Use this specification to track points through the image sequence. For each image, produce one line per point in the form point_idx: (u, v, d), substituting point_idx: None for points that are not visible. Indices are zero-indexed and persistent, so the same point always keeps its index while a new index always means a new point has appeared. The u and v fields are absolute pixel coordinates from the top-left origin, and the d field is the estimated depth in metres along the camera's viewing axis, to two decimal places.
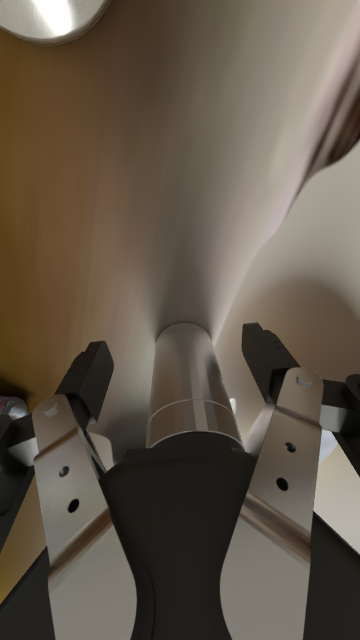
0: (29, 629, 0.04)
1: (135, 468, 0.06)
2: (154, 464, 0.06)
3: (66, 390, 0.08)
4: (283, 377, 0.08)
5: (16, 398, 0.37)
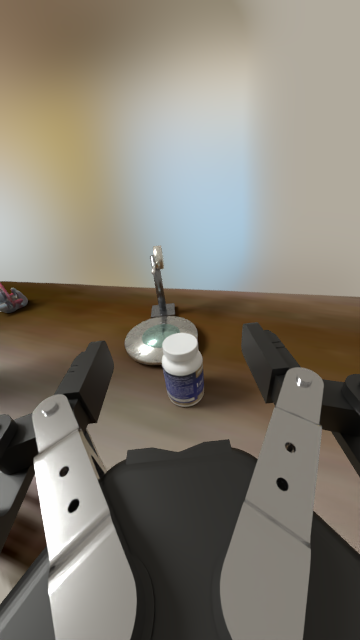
0: (29, 629, 0.04)
1: (135, 468, 0.06)
2: (154, 464, 0.06)
3: (66, 390, 0.08)
4: (283, 377, 0.08)
5: (12, 310, 0.64)
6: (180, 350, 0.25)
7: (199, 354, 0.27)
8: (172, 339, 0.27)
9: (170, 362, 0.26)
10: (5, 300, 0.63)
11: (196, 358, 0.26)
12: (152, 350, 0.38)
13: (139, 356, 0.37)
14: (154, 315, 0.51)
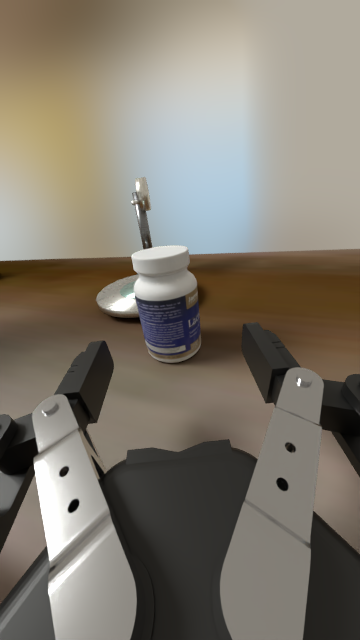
0: (29, 629, 0.04)
1: (135, 468, 0.06)
2: (154, 464, 0.06)
3: (66, 390, 0.08)
4: (283, 377, 0.08)
5: None
6: (158, 255, 0.15)
7: (192, 275, 0.17)
8: (148, 250, 0.17)
9: (145, 281, 0.16)
10: None
11: (186, 277, 0.16)
12: (131, 301, 0.28)
13: (112, 307, 0.27)
14: None
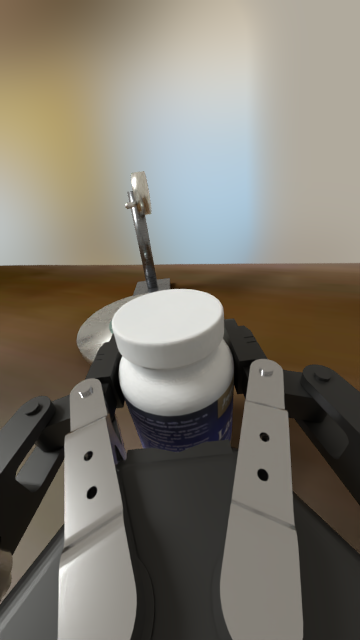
0: (29, 629, 0.04)
1: (135, 468, 0.06)
2: (154, 464, 0.06)
3: (97, 375, 0.09)
4: (250, 368, 0.09)
5: None
6: (165, 330, 0.07)
7: (225, 347, 0.09)
8: (145, 303, 0.09)
9: (138, 370, 0.08)
10: None
11: (218, 359, 0.09)
12: None
13: None
14: (138, 293, 0.33)
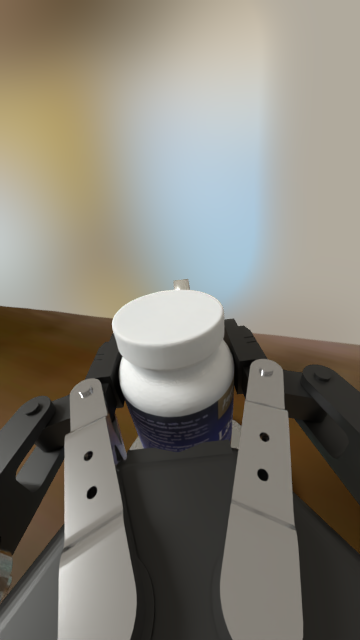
0: (29, 629, 0.04)
1: (135, 468, 0.06)
2: (154, 464, 0.06)
3: (97, 375, 0.09)
4: (250, 368, 0.09)
5: None
6: (165, 331, 0.07)
7: (225, 347, 0.10)
8: (146, 304, 0.09)
9: (138, 371, 0.08)
10: None
11: (218, 360, 0.09)
12: None
13: None
14: None
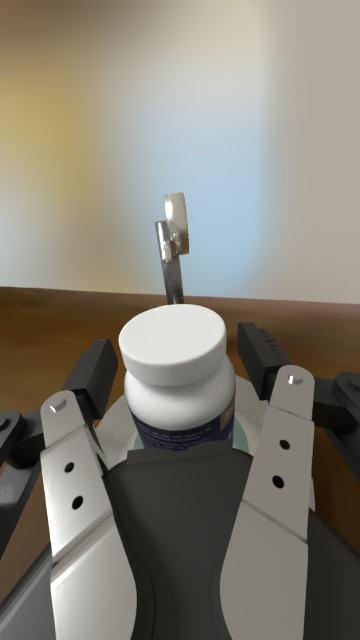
0: (29, 629, 0.04)
1: (135, 468, 0.06)
2: (154, 464, 0.06)
3: (73, 386, 0.08)
4: (276, 375, 0.08)
5: None
6: (170, 350, 0.07)
7: (227, 361, 0.10)
8: (150, 319, 0.10)
9: (144, 385, 0.09)
10: None
11: (221, 374, 0.09)
12: None
13: None
14: None
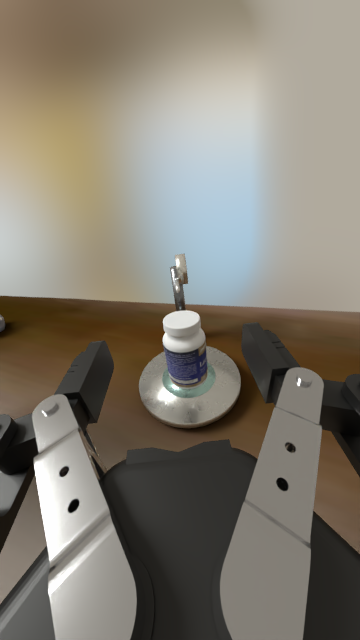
0: (29, 629, 0.04)
1: (135, 468, 0.06)
2: (154, 464, 0.06)
3: (66, 390, 0.08)
4: (283, 377, 0.08)
5: None
6: (181, 325, 0.24)
7: (202, 332, 0.26)
8: (173, 316, 0.26)
9: (172, 338, 0.25)
10: None
11: (198, 335, 0.25)
12: (179, 402, 0.26)
13: (162, 413, 0.25)
14: None
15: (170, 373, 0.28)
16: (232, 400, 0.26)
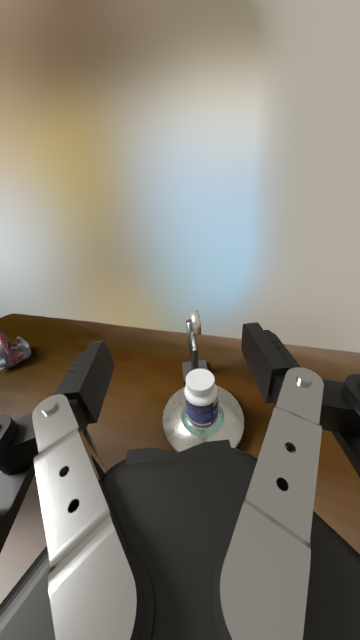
0: (29, 629, 0.04)
1: (135, 468, 0.06)
2: (154, 464, 0.06)
3: (66, 390, 0.08)
4: (283, 377, 0.08)
5: (13, 365, 0.59)
6: (201, 386, 0.31)
7: (215, 387, 0.33)
8: (193, 375, 0.33)
9: (192, 394, 0.32)
10: (6, 355, 0.58)
11: (213, 391, 0.32)
12: (197, 441, 0.34)
13: None
14: None
15: (189, 416, 0.35)
16: (238, 440, 0.33)
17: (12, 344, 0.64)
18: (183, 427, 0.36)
